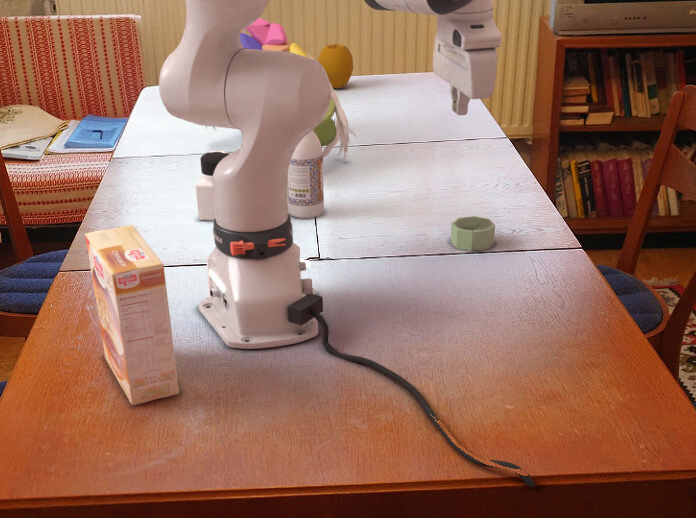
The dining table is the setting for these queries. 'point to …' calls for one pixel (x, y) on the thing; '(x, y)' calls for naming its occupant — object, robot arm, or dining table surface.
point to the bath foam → (306, 179)
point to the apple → (337, 64)
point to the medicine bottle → (207, 184)
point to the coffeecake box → (133, 313)
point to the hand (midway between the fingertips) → (459, 113)
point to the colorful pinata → (276, 40)
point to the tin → (472, 233)
